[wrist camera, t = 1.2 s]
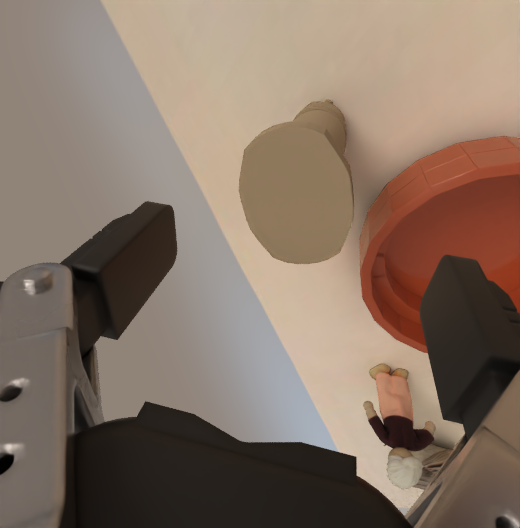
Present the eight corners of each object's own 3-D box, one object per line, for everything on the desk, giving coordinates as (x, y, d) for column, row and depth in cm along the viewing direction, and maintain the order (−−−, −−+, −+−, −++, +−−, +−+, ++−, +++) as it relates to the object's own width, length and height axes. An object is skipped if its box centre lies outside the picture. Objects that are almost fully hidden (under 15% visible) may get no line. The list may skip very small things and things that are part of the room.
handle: (299, 165, 29) (260, 267, 17) (284, 83, 26) (223, 140, 14) (357, 155, 27) (358, 260, 16) (350, 67, 24) (343, 115, 12)
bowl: (393, 118, 25) (402, 142, 21) (658, 153, 23) (737, 188, 18) (342, 292, 36) (339, 334, 31) (519, 328, 34) (546, 379, 29)
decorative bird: (470, 473, 50) (485, 534, 44) (376, 429, 49) (379, 485, 43) (500, 461, 47) (520, 525, 41) (400, 414, 46) (407, 473, 40)
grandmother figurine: (359, 378, 43) (360, 486, 33) (363, 359, 41) (366, 469, 31) (423, 389, 42) (444, 505, 32) (431, 369, 40) (456, 488, 30)
